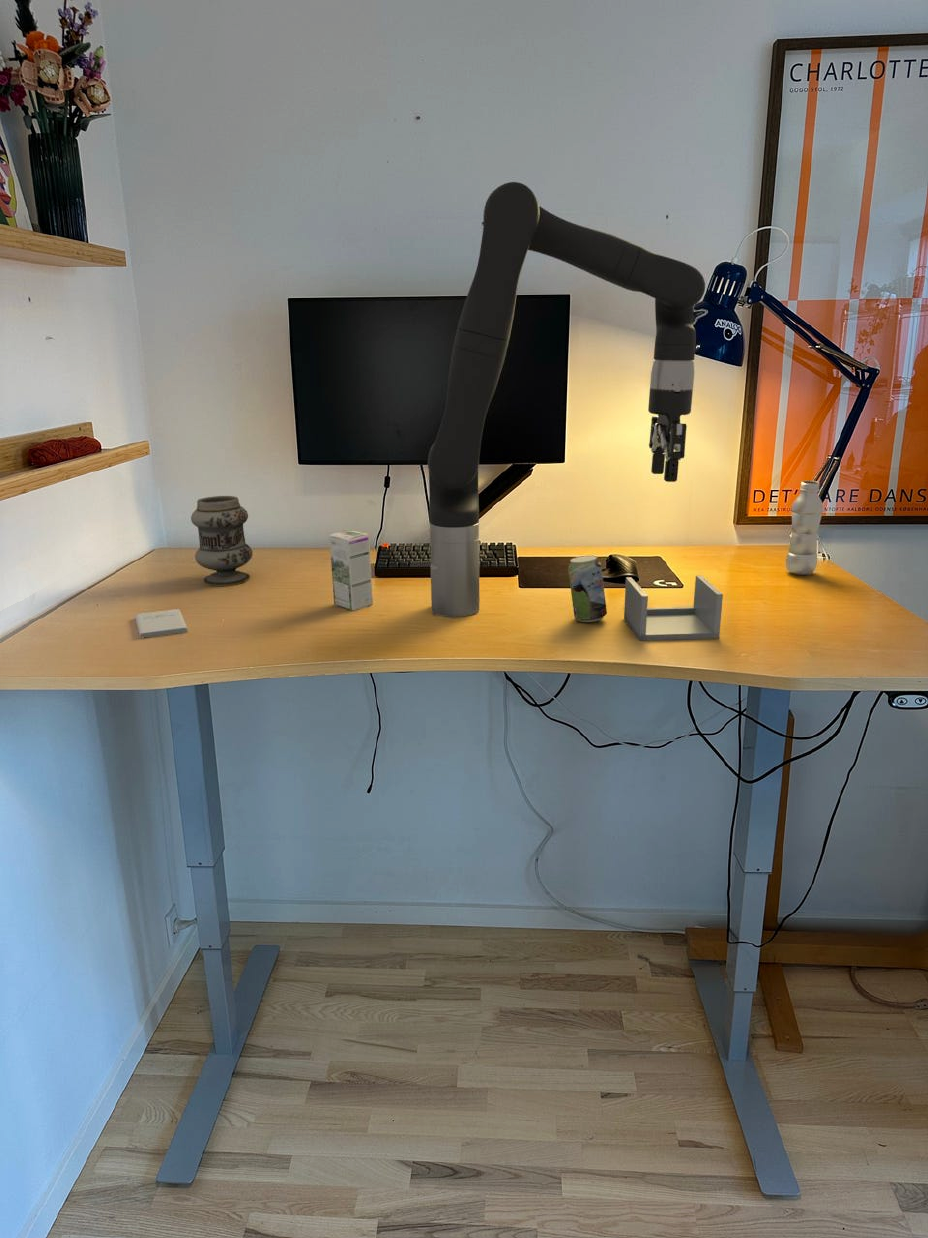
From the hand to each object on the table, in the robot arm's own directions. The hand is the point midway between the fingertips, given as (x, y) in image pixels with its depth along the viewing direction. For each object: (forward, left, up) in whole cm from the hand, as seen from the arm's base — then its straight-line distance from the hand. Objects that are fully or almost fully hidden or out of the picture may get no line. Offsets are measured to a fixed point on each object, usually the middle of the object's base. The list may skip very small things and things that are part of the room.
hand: (663, 477), depth 161 cm
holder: (-1, -12, -25) cm, 28 cm away
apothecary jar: (-88, +28, -25) cm, 95 cm away
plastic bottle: (+37, +21, -25) cm, 50 cm away
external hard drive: (-94, -2, -26) cm, 97 cm away
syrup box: (-59, +7, -25) cm, 64 cm away
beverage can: (-15, -6, -25) cm, 30 cm away
